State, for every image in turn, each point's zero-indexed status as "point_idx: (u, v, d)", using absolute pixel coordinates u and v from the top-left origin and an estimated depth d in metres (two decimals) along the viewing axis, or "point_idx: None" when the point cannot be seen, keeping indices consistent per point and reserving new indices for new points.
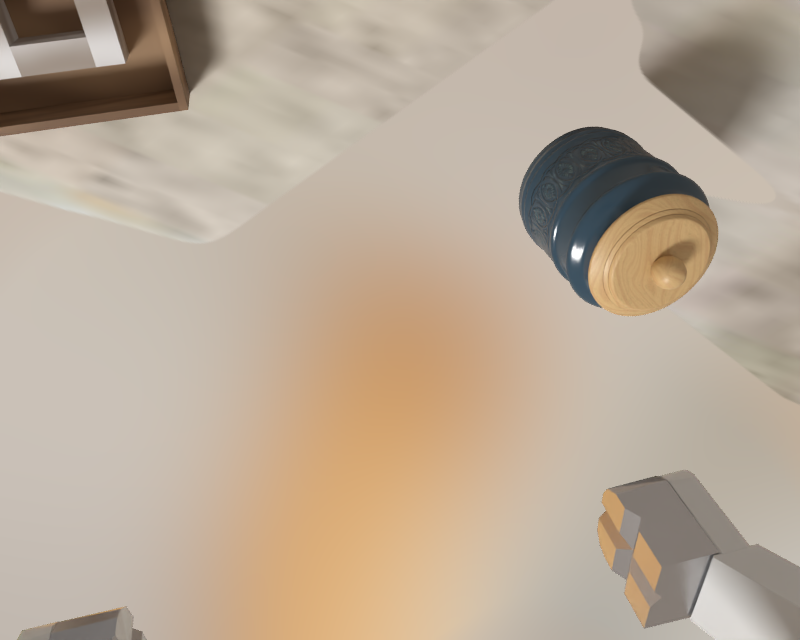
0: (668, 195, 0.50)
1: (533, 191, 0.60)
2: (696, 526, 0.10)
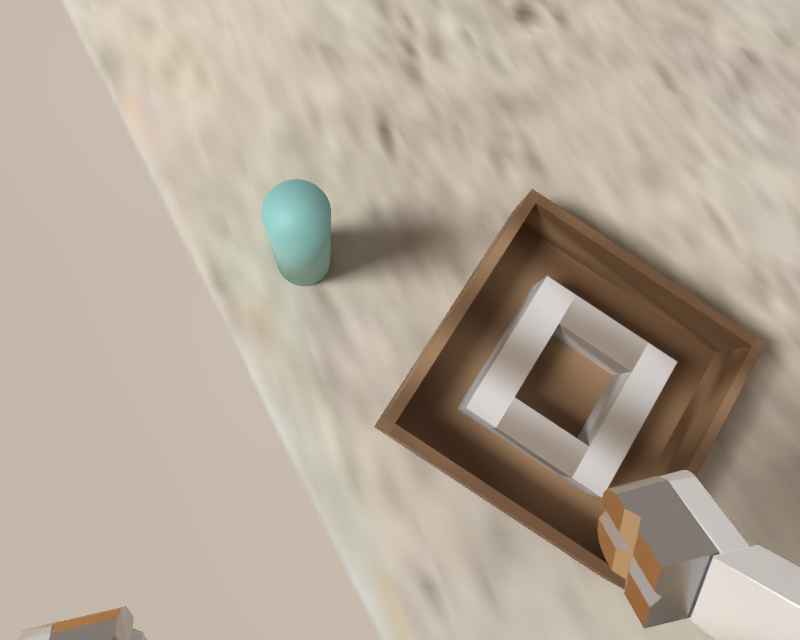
0: None
1: None
2: (696, 526, 0.10)
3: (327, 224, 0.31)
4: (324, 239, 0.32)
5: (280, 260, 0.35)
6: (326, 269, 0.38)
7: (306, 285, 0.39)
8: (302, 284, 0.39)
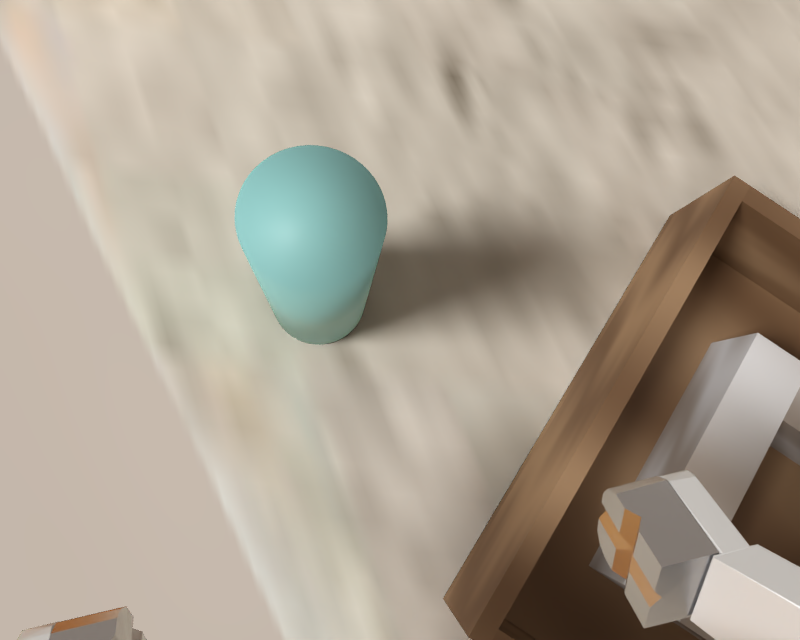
0: None
1: None
2: (696, 526, 0.10)
3: (379, 244, 0.14)
4: (369, 274, 0.15)
5: (276, 309, 0.18)
6: (359, 317, 0.22)
7: None
8: (316, 343, 0.22)
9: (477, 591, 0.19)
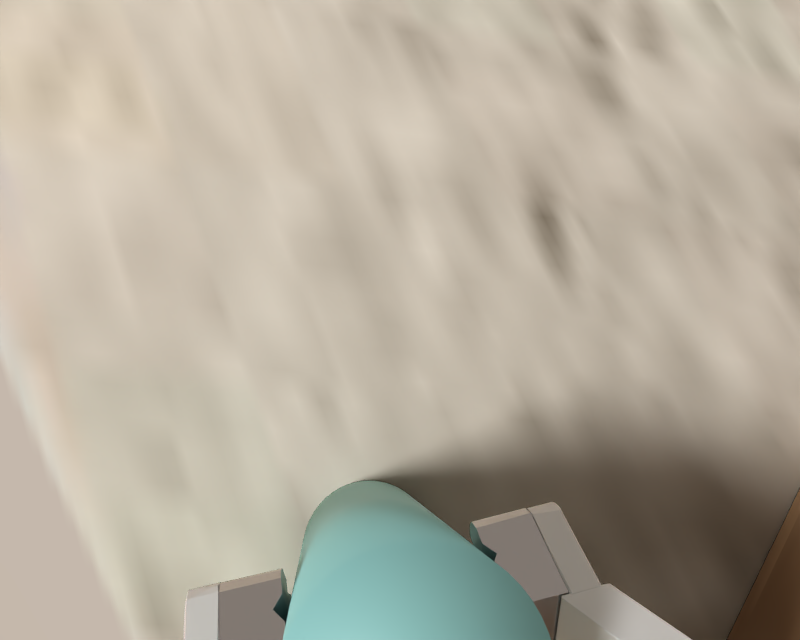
0: None
1: None
2: (552, 564, 0.10)
3: None
4: None
5: None
6: None
7: None
8: None
9: None
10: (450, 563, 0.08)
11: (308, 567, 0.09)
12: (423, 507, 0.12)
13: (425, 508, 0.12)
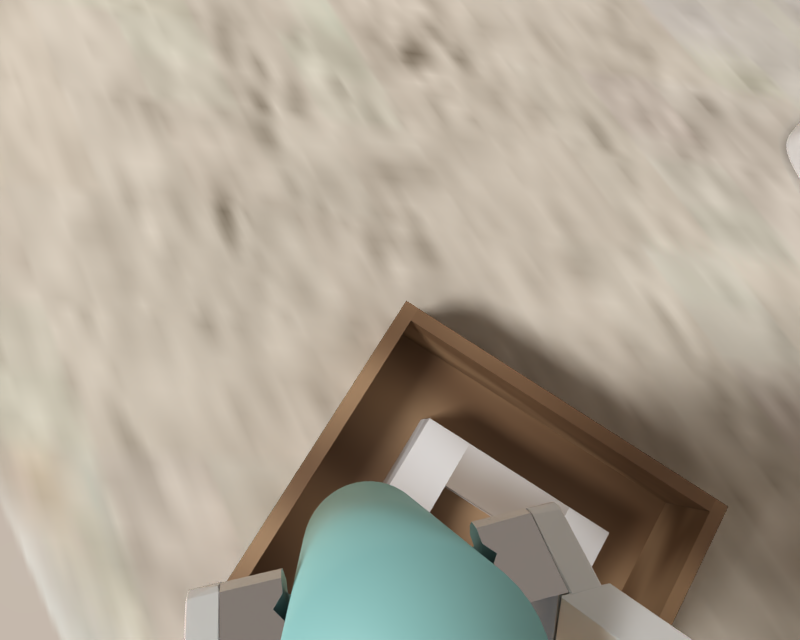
0: None
1: None
2: (552, 564, 0.10)
3: None
4: None
5: None
6: None
7: None
8: None
9: None
10: (447, 564, 0.08)
11: (306, 568, 0.09)
12: (422, 508, 0.12)
13: (424, 509, 0.12)
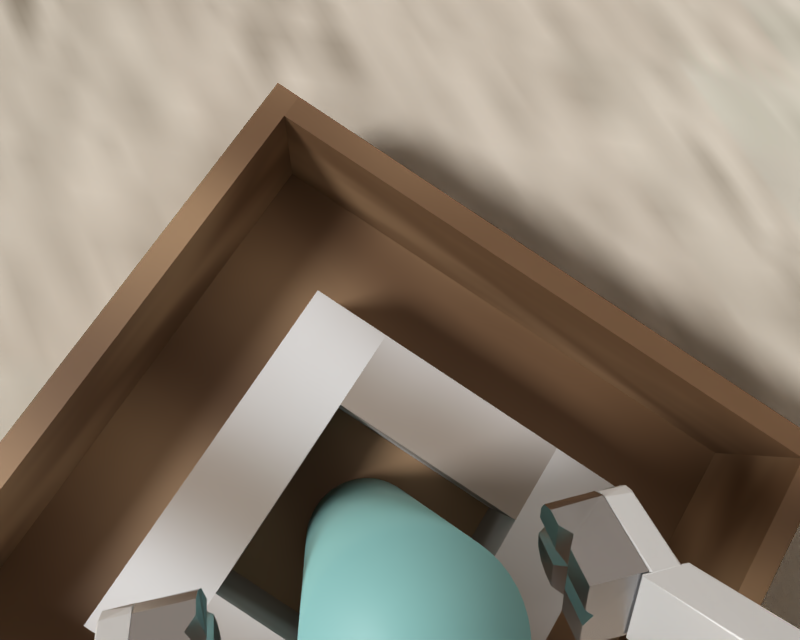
0: None
1: None
2: (629, 544, 0.10)
3: None
4: None
5: None
6: None
7: None
8: None
9: None
10: (442, 544, 0.09)
11: (319, 551, 0.11)
12: (417, 501, 0.14)
13: (419, 502, 0.14)
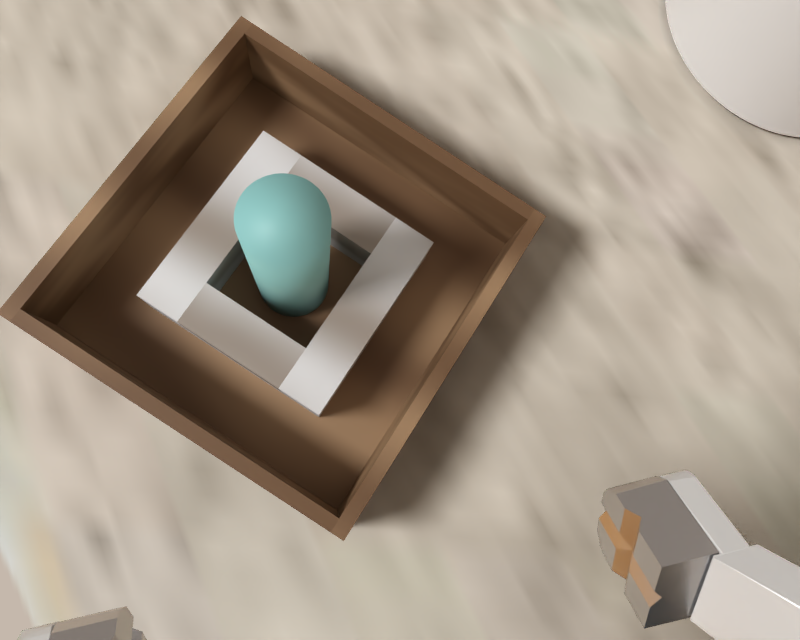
0: None
1: None
2: (696, 526, 0.10)
3: (326, 236, 0.22)
4: (322, 257, 0.23)
5: (261, 285, 0.26)
6: (322, 295, 0.29)
7: (296, 316, 0.30)
8: (291, 315, 0.30)
9: None
10: (295, 181, 0.22)
11: None
12: None
13: None
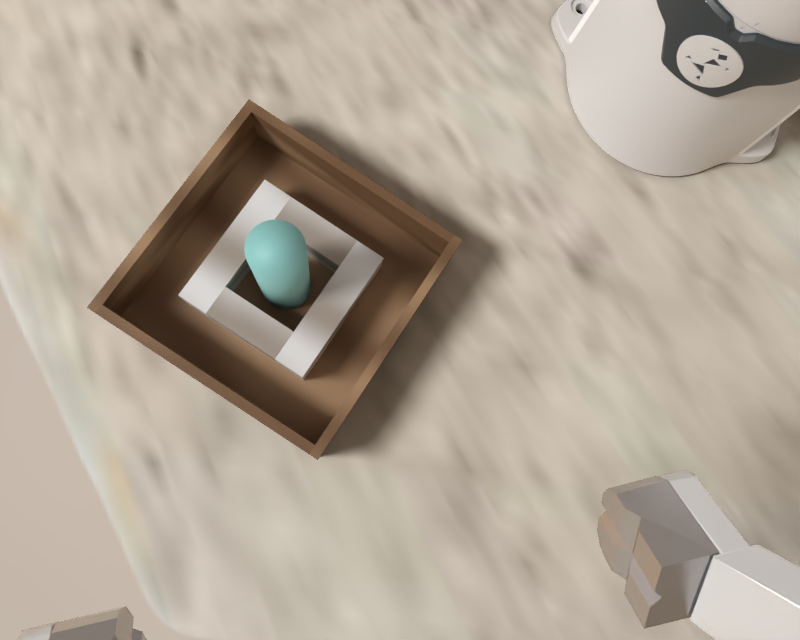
0: None
1: None
2: (696, 527, 0.10)
3: (303, 259, 0.34)
4: (301, 272, 0.35)
5: (263, 289, 0.38)
6: (306, 295, 0.42)
7: (288, 309, 0.43)
8: (284, 308, 0.42)
9: None
10: (283, 224, 0.34)
11: None
12: None
13: None
